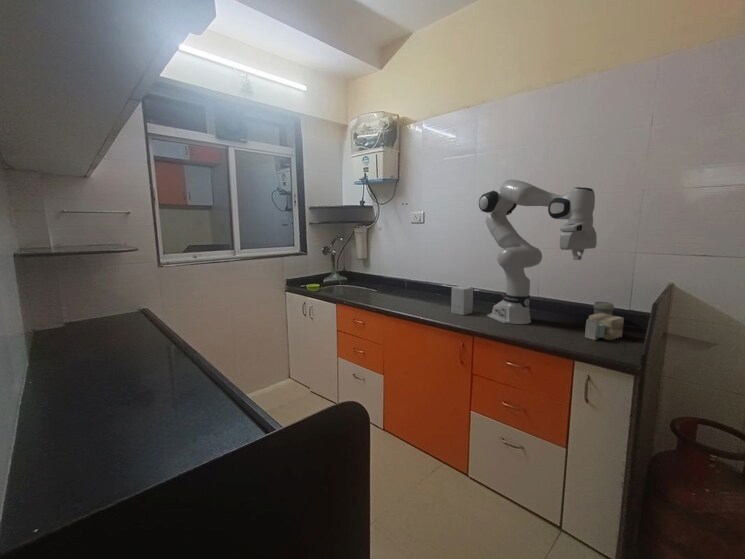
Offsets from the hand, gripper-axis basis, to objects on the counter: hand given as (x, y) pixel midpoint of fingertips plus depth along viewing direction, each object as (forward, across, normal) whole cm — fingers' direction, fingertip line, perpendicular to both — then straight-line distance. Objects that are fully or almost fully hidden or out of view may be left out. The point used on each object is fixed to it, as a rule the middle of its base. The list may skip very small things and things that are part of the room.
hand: (577, 259), depth 144 cm
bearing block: (+35, -18, +4) cm, 40 cm away
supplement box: (+35, +9, -59) cm, 69 cm away
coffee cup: (+35, -31, -4) cm, 47 cm away
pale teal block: (+34, -12, +4) cm, 36 cm away
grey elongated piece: (+35, -16, +4) cm, 39 cm away
